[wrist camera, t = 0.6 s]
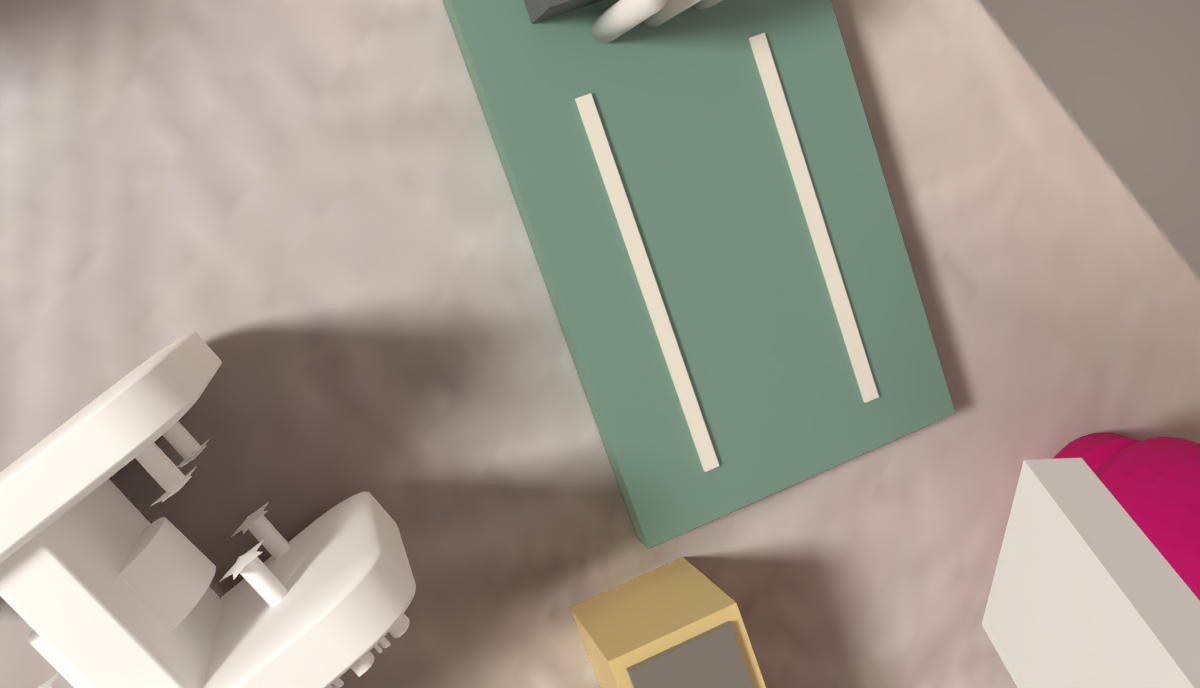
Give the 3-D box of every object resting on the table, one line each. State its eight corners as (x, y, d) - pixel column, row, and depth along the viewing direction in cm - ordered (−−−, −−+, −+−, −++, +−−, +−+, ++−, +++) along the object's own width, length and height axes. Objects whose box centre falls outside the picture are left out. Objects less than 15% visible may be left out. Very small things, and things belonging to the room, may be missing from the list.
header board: (935, 407, 48) (1047, 438, 41) (637, 538, 45) (700, 596, 38) (778, -110, 44) (870, -177, 37) (442, -2, 41) (470, -52, 34)
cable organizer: (216, 305, 41) (181, 331, 29) (404, 522, 43) (438, 622, 32) (-141, 582, 39) (-325, 724, 27) (77, 794, 41) (-10, 1003, 30)
